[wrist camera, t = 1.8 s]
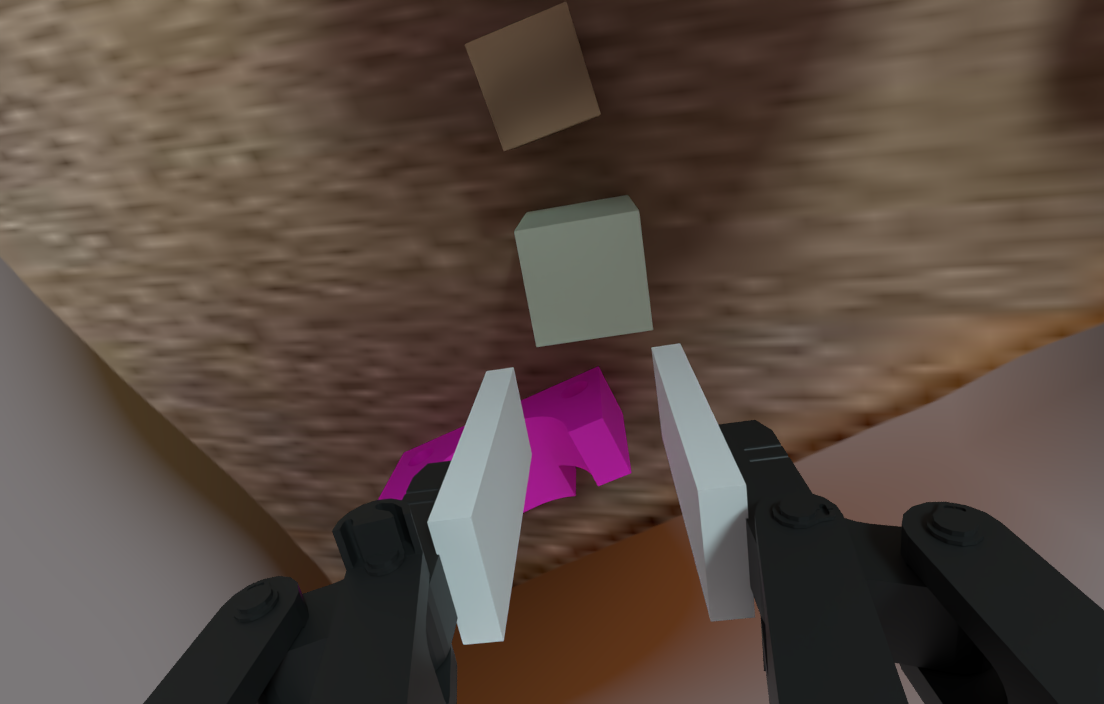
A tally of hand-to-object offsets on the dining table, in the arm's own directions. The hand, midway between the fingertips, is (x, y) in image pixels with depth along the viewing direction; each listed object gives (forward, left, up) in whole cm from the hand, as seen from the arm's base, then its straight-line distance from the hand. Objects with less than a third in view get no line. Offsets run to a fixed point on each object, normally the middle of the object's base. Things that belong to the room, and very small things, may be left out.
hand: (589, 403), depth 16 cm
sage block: (0, 0, -21) cm, 21 cm away
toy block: (+13, -7, -21) cm, 25 cm away
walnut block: (-9, -1, -21) cm, 23 cm away
